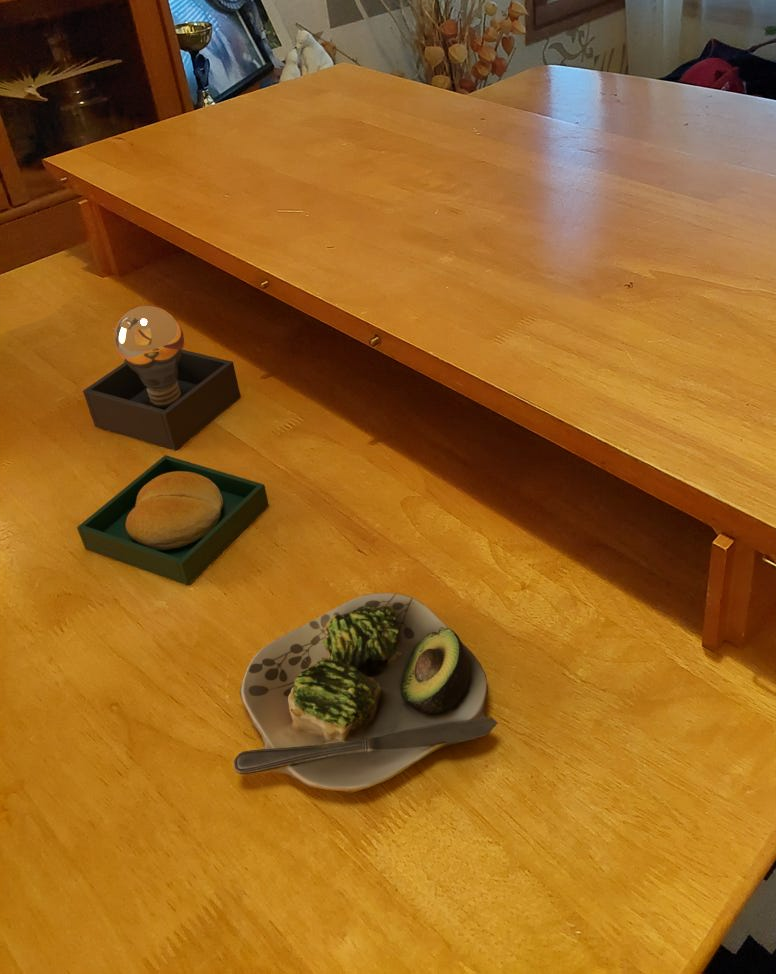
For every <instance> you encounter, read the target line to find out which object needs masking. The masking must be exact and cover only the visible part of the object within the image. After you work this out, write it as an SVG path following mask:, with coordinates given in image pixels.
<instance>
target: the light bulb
mask: <svg viewBox="0 0 776 974" xmlns="http://www.w3.org/2000/svg"><path fill="white" fill-rule="evenodd" d="M113 343H114V344H113V345H114V348H115V350H116V353H117V355H118V357H119V358H120V360H121V361H122V362H123V363H125V364H126V365H127V366H128V367H130V368H131V369H132V370H134V371H135V372H136V373H137V374H138V375H139V377H140V379H141V381H142V383H143V384H144V385H145V386H146V387H147V392H148V396H149V398H150V402H151V403H152V404H154V405H156V406H158V407H160V408H163V409H167V408H168V407H169V406H171V405H172V404H173V403H175V402H176V401H177V400H178V399H180V395H181V392H180V390H179V386H178V381H177V378H178V362H179V360H180V357H181V355H182V352H183V350H185V349H184V348H185V337H184V332H183V329H182V327H181V325H180V323H179V322H178V320H177V318H176V317H174V316H173V315H172V314H171V313H170V312H169V311H167V310H165V309H164V308H161V307H159V306H155V305H147V304H146V305H138V306H134V307H133V308H131V309H129V310H126V312H124V313H123V315H122V316H121V317H119V319H118V321H117V323H116V325H115V327H114V331H113Z"/></svg>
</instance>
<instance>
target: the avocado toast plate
mask: <svg viewBox="0 0 776 974" xmlns="http://www.w3.org/2000/svg"><path fill="white" fill-rule="evenodd" d="M488 688H489V685H488V680H487V674H486V672H485V670H484V668H483V666H482V664H481V662H480V661H479V659H478V658H477V656H476V655H475V654H474V653H473V652H472V651H471V650H470V648H468V647H467V646H466V644H465V643H464V642H463V641H462V640H461V638H460V637H459V636H458V634H457V633H456V632H455V631H454V630H453V629H452V628H449V627H448V626H447V625H446V624H445V622H443V621H442V620H441V618H439V617H438V616H437V615H436V613H434V612H433V611H432V609H430V608H429V607H427V606H426V605H425V604H424V603H423V602H422V601H420V600H418V599H417V598H415V597H412V596H410V595H406V594H401V593H397V592H396V593H393V592H392V593H391V592H374V593H367V594H363V595H361V596H358V597H355V598H352V599H350V600H348V601H346V602H344V603H342V604H340V605H338V606H336V607H334V608H333V609H330V610H329V611H327V612H325V613H323V614H321V615H320V616H318V617H316V618H315V619H312V620H310V621H308V622H307V623H305V624H304V625H301V626H299V627H297V628H295V629H291V630H290V631H289V632H287V633H286V634H284V635H282V636H279V637H278V638H276V639H274V640H273V641H271V642H269V643H268V644H266V645H264V646H263V647H262V648H261V649H259V650H258V651H257V652H256V654H255V655H254V656H253V658H252V659H251V660H250V662H249V663H248V665H247V668H246V671H245V674H244V676H243V679H242V682H241V684H240V687H239V691H238V692H239V696H240V699H241V703H242V705H243V706H244V708H245V710H246V711H247V712H248V716H249V718H250V720H251V722H252V724H253V726H254V727H255V729H256V730H257V731H258V733H259V734H260V735H261V738H262V741H263V745H264V748H259V749H252V750H251V749H250V750H244V751H241V752H240V753H239V754H237V755H236V756H235V758H234V759H233V768H234V772H236V774H239V775H241V776H248V775H261V774H269V773H281V774H284V775H289V776H290V777H292V778H293V779H296V780H297V781H299V782H300V783H302V784H303V785H305V786H307V787H310V788H314V789H319V790H320V789H321V790H324V791H336V792H343V793H349V794H350V793H356V792H359V791H362V790H366V789H369V788H372V787H374V786H376V785H379V784H382V783H384V782H386V781H388V780H390V779H392V778H393V777H395V776H398V775H399V774H401V773H402V772H404V771H405V770H407V769H408V768H410V767H411V766H413V765H414V764H416V763H417V762H419V761H421V760H422V759H424V758H426V757H427V756H429V755H430V754H432V753H433V752H436V751H437V750H440V749H441V748H445V747H447V746H450V745H451V746H452V745H456V744H460V743H461V744H462V743H465V742H470V741H472V740H475V739H478V738H479V739H480V738H482V737H484V736H487V735H490V733H491V732H492V731H493V729H494V728H495V727H496V726H497V725H498V724H499V722H498V721H497V720H495V719H494V718H493V717H492V716H488V717H487V716H485V714H486V712H485V710H486V705H487V697H488V695H489V694H488V693H489V689H488Z"/></svg>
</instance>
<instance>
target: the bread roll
mask: <svg viewBox="0 0 776 974" xmlns="http://www.w3.org/2000/svg"><path fill="white" fill-rule="evenodd" d="M222 507H223V498H222V495H221V493H220V491H219V488H218V487H217V486H216V485H215V484H214V483H213V482H212V481H211V480H210V479H208V478H206V477H204V476H202V475H199V474H196V473H193V472H185V471H175V472H169V473H165V474H162V475H160V476H158V477H156V478H154V479H152V480H151V481H150V482H148V483H147V484H146V485H144V487H143V488H142V489H141V490H140V491H139V493H138V496H137V500H136V505H135V508H133V509H132V510H131V512H130V513H129V514H128V517H127V519H126V530H127V532H128V534H129V535H130V536H131V537H132V538H133V539H134V540H136V541H137V542H139V543H141V544H143V545H145V546H147V547H149V548H151V549H154V550H170V549H176V548H180V547H184V546H186V545H188V544H191V543H193V542H195V541H197V540H199V539H201V538H203V537H204V536H206V535H207V534H208V533H209V532H210V531H211V530H212V529H213V528H214V527H215V526H216V524H217V523H218V521H219V518H220V514H221V509H222Z"/></svg>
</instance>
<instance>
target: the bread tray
mask: <svg viewBox="0 0 776 974" xmlns="http://www.w3.org/2000/svg"><path fill="white" fill-rule="evenodd" d="M175 471H185V472H193V473H196V474H199V475H202V476H204V477H206V478H208V479H210V480H211V481H212V482H213V483H214V484H215V485H216V486H217V487H218V488H219V491H220V493H221V495H222V498H223V507H222V509H221V514H220V518H219V521H218V523H217V524H216V526H215V527H214V528H213V529H212V530H211V531H210V532H209V533H208V534H207V535H206V536H204V537H203V538H201V539H199V540H197V541H195V542H193V543H191V544H188V545H186V546H184V547H180V548H176V549H170V550H154V549H151V548H149V547H147V546H145V545H143V544H141V543H139V542H137V541H136V540H134V539H133V538H132V537H131V536H130V535H129V534H128V532H127V530H126V519H127V517H128V514H129V513H130V512H131V510H132V509H133V508H135V505H136V500H137V496H138V493H139V491H140V490H141V489H142V488H143V487H144V485H146V484H147V483H148V482H150V481H151V480H152V479H154V478H156V477H158V476H160V475H162V474H165V473H169V472H175ZM269 506H270V505H269V500H268V495H267V489H266V486H265V484H264V483H260V482H257V481H254V480H251V479H247V478H244V477H240V476H237V475H234V474H231V473H227V472H224V471H221V470H217V469H213V468H210V467H207V466H204V465H200V464H197V463H193V462H191V461H187V460H183V459H180V458H177V457H174V456H170V455H167V454H164V455H163V456H162V457H161V458H160V459H158V460H157V461H156V462H155V463H154V464H152V465H151V466H150V467H149V468H147V469H146V470H145V471H144V472H143V473H141V474H140V475H139V476H138V477H136V478H135V479H134V480H132V481H131V482H130V483H129V484H127V486H125V487H124V488H123V489H121V491H119V492H118V493H117V494H115V495H114V496H113V497H112V498H111V499H110V500H107V502H105V504H103V505H102V506H100V508H99V509H97V510H96V511H95V512H93V514H91V515H90V516H89V517H87V518H86V519H85V520H84V521H83V522H81V523H80V524H79V525H78V526H77V527H76V529H77V532H78V534H79V537H80V540H81V541H82V542H81V543H82V544H83V547H84V549H85V550H88V551H91V552H93V553H97V554H99V555H103V556H105V557H108V558H111V559H114V560H117V561H118V562H122V563H124V564H127V565H131V566H133V567H136V568H138V569H142V570H144V571H147V572H150V573H153V574H155V575H158V576H161V577H164V578H167V579H170V580H172V581H175V582H177V583H181V584H183V585H186V586H190V584H191V583H193V582H194V581H195V580H196V579H197V577H198V576H199V575H201V574H202V573H203V572H204V571H205V570H206V569H207V568H208V567H209V566H210V565H211V564H212V563H213V561H215V560H216V559H217V558H218V557H219V556H220V555H221V554H222V553H223V552H224V551H225V550H226V549H227V548H228V547H229V546H230V545H231V544H232V543H233V542H234V541H235V540H236V539H237V538H238V537H239V536H240V535H241V534H242V533H243V532H244V531H245V530H246V529H247V528H248V527H249V526H250V525H251V524H252V523H253V522H254V521H255V520H256V519H257V518H258V517H259V516H260V515H261V514H262V513H263V512H264V511H265V510H266V509H267V508H268V507H269Z"/></svg>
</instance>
